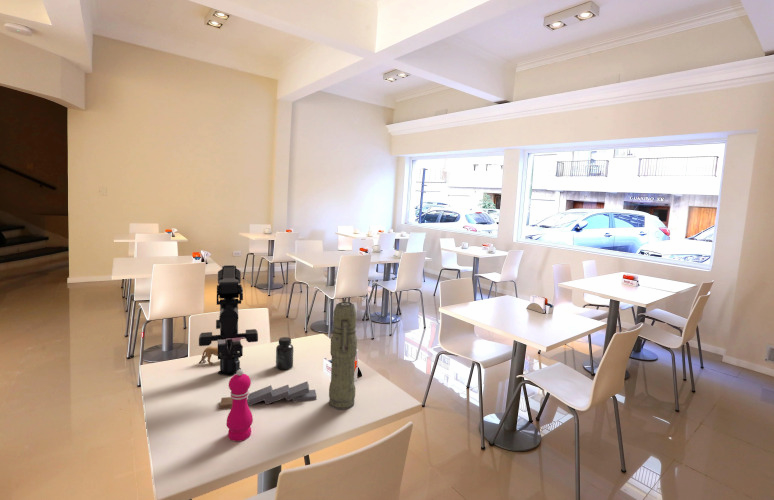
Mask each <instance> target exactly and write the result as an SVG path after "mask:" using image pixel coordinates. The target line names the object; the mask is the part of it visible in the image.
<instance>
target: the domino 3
mask: <svg viewBox="0 0 774 500" xmlns="http://www.w3.org/2000/svg"><path fill="white" fill-rule="evenodd" d="M290 388H291V387H290V386H289V384H285V385H283V386H280V387H277V388H275V389H273V397H270V398H268V399H265V400H264V402H265V405H268V404H271V403H274V402H277V401H280V400H282V399H286V397H288V396H289V393H290Z"/></svg>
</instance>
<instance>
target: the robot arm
mask: <svg viewBox="0 0 774 500" xmlns="http://www.w3.org/2000/svg"><path fill="white" fill-rule="evenodd" d="M221 267H222V268H221V269H220V270H218V271H217V285H216V305H217V306H219V315H218V316H219V317H218V319H216V320H215V329H216V330H219V334H214V335H213V332H212V331H209V332H208V331H207V332H201V333H200V334H199V337H198V347H210V345H211V344H212V343H213V342H216V343H217V347H218V356H217V360H219V370H218V371H217V374H218V375H225V376H231V377H233V376H234V375H236V374H237V371H238V370H239V369H241V370H242V367H241V364H240V362H241V361H240V358H242V356H244V354H243V353H244V352H243V351H244V350H243V345H242V342H241V340H245V341H246V342H248V343H256V342H259V333H258V330H257V329H255V328H253V329H245V332H242V333H241V332H240V333H239V305H241V304H242V301H243V300H244V287H243V286H242V284H241V283H242V277H241V276H242V275H241V274H242V273H241V270H240V269H238V268H237V265H234V264H233V265H222V266H221ZM220 353H221V354H220Z"/></svg>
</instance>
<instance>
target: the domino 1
mask: <svg viewBox="0 0 774 500" xmlns="http://www.w3.org/2000/svg"><path fill="white" fill-rule="evenodd" d="M219 407H220V408H219V409H220V410H222V409H223V410H224V409H231V408H232V398H231V396H228V397H227V396H226V397H221V399H220V404H219Z"/></svg>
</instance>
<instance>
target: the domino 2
mask: <svg viewBox="0 0 774 500" xmlns="http://www.w3.org/2000/svg"><path fill="white" fill-rule="evenodd" d="M273 390H274V389H273V387H272V384H271V385H268V386H266V387H262V388H260V389H258V390H255V391H253V392H249V396H248V397H247V404H248V407H250V406H253V405H255V404H258V403H260V402H262V401H265V399H268V398H270V397H273Z"/></svg>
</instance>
